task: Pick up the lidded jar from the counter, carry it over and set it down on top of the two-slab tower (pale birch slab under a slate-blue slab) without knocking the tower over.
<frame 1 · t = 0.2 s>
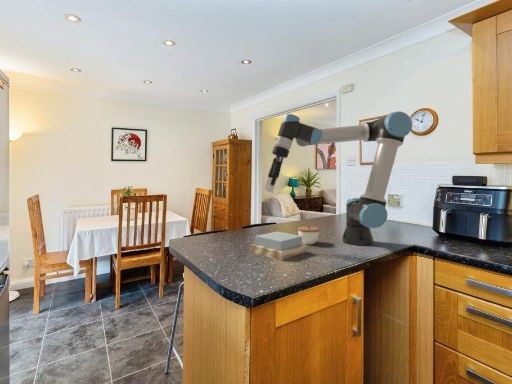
hand: (267, 191, 128), 27 cm above the table, tool tilted 20°, fingers open, 13 cm apart
lidded jar: (308, 243, 141), on the table
tower top: (278, 244, 124), point 3 cm above the table
tower base: (278, 253, 124), on the table
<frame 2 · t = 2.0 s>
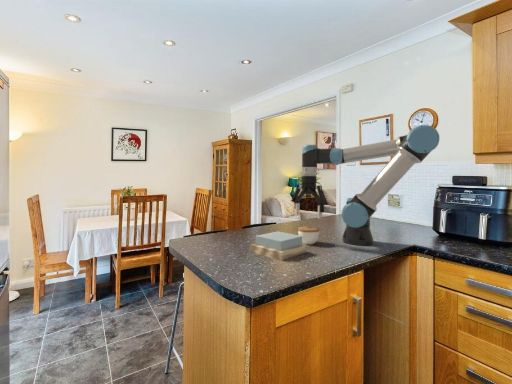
hand: (308, 217, 141), 13 cm above the table, tool pointing down, fingers open, 13 cm apart
tower top: (278, 244, 124), point 3 cm above the table, touching tower base
tower base: (278, 253, 124), on the table, touching tower top
everything else where it was.
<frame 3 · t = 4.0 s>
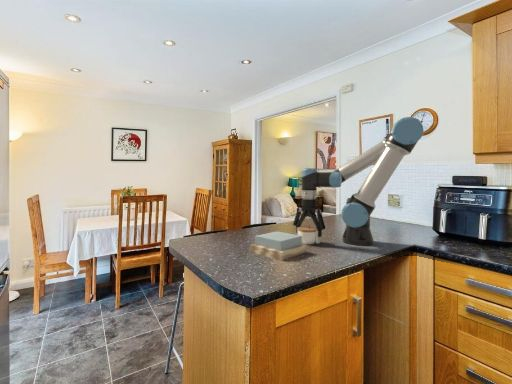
hand: (308, 241, 141), 1 cm above the table, tool pointing down, fingers closed on lidded jar, 11 cm apart
lidded jar: (308, 243, 141), on the table, touching gripper
everything else where it was.
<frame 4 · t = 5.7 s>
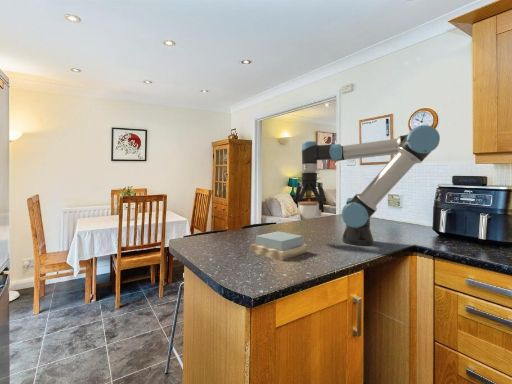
hand: (309, 215, 140), 14 cm above the table, tool pointing down, fingers closed on lidded jar, 11 cm apart
lidded jar: (309, 217, 140), point 13 cm above the table, touching gripper
tower top: (279, 244, 124), point 3 cm above the table
tower base: (278, 253, 124), on the table
when the fingers open (10 cm above the table, at t = 10.7 s): lidded jar drops 2 cm, resting on tower top.
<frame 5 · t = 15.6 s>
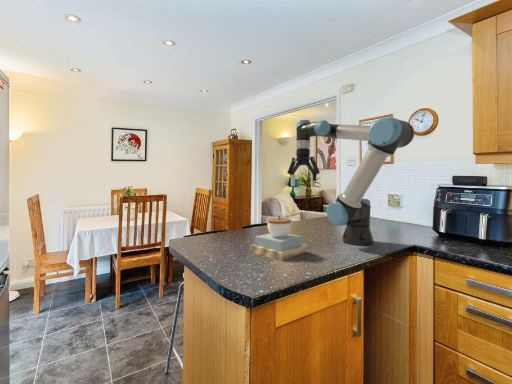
hand: (302, 186, 155), 29 cm above the table, tool pointing down, fingers open, 13 cm apart
lidded jar: (279, 236, 123), point 7 cm above the table, touching tower top
tower top: (278, 245, 124), point 3 cm above the table, touching tower base, lidded jar
tower base: (278, 253, 124), on the table, touching tower top
at the end: lidded jar inside the target area on the tower top (0.2 cm from its centre), point 3.8 cm above the tower top's base; tower top moved 0.9 cm from its start; lidded jar tilted 0° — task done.
